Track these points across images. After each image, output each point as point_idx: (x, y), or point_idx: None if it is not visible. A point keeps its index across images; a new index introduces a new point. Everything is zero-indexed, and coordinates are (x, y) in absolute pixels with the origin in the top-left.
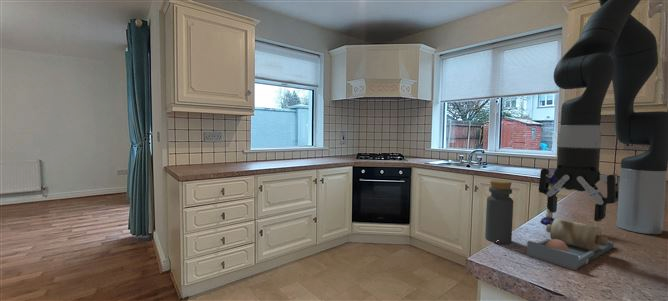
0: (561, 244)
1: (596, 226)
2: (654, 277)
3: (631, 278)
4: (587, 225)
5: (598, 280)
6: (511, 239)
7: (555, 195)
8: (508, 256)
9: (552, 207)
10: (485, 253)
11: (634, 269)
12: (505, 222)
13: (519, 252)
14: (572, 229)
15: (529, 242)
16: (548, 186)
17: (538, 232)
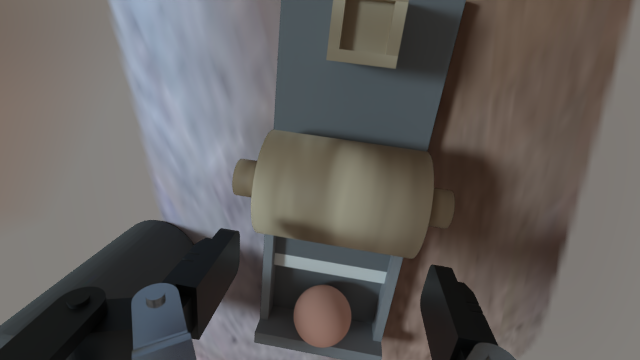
0: (334, 344)
1: (404, 7)
2: (546, 252)
3: (489, 297)
4: (385, 231)
5: (423, 352)
6: (188, 249)
7: (185, 309)
8: (243, 343)
9: (224, 290)
10: (203, 356)
11: (505, 226)
12: None
13: (246, 303)
14: (335, 245)
15: (260, 342)
16: (77, 339)
17: (185, 37)
